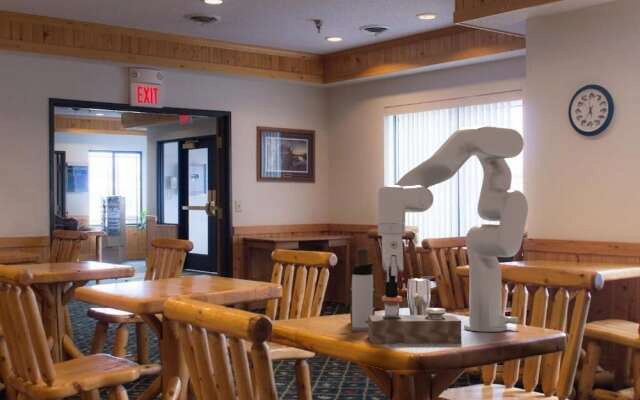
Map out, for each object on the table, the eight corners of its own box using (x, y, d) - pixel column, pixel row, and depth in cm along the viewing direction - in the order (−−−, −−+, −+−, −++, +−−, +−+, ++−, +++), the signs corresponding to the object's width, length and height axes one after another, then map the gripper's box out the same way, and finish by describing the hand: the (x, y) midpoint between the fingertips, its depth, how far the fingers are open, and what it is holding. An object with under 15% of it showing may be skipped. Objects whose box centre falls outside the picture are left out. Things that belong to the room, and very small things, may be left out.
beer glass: (434, 328, 230) (433, 279, 231) (425, 331, 224) (425, 280, 225) (412, 326, 234) (412, 278, 234) (403, 329, 228) (403, 279, 228)
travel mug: (372, 331, 224) (372, 264, 224) (350, 331, 225) (350, 263, 226) (375, 328, 230) (375, 262, 231) (353, 328, 232) (353, 262, 232)
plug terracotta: (400, 324, 212) (400, 295, 213) (403, 327, 207) (403, 297, 207) (380, 325, 212) (380, 295, 212) (382, 327, 207) (382, 297, 207)
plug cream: (443, 337, 213) (443, 308, 213) (447, 340, 207) (447, 310, 207) (423, 337, 212) (423, 308, 213) (426, 340, 207) (426, 310, 207)
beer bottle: (373, 324, 238) (373, 248, 239) (348, 324, 240) (348, 248, 240) (375, 321, 246) (375, 247, 247) (351, 320, 247) (351, 247, 248)
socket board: (452, 336, 216) (452, 315, 216) (461, 343, 204) (461, 320, 204) (368, 336, 215) (368, 315, 215) (372, 343, 203) (372, 321, 203)
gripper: (408, 230, 203) (408, 299, 202) (401, 230, 218) (401, 294, 217) (380, 230, 202) (380, 299, 202) (375, 229, 217) (375, 294, 217)
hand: (391, 296), depth 210 cm, fingers closed
